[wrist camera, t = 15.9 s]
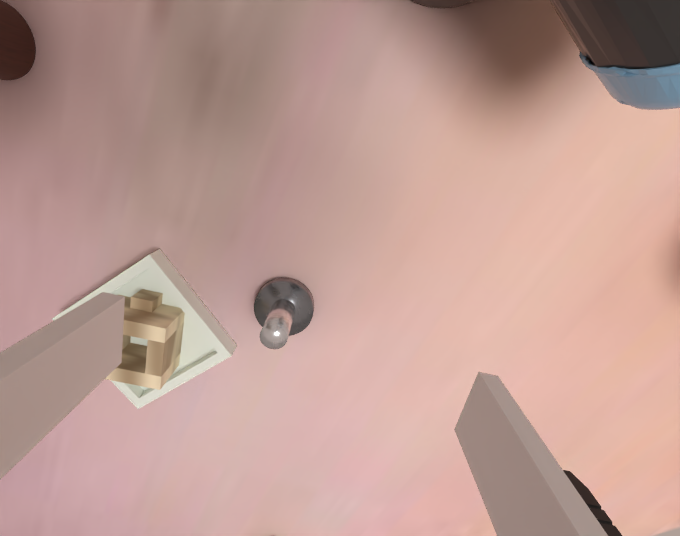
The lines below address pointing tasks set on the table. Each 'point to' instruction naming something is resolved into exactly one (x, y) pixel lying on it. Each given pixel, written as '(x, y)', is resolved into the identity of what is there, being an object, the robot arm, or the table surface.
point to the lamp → (14, 44)
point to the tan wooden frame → (149, 341)
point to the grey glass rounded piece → (282, 310)
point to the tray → (198, 331)
